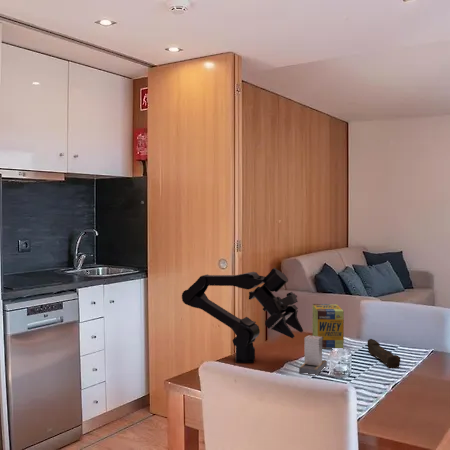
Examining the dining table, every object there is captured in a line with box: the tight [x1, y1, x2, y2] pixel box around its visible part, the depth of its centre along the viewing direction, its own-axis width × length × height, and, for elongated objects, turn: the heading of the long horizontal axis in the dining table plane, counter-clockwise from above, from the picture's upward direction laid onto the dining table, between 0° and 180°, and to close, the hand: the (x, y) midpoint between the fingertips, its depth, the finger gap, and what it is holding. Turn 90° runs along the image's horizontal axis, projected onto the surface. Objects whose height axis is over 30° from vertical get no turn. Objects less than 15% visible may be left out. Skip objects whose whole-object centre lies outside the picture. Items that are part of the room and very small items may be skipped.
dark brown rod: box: [366, 338, 401, 369], centre depth 193 cm, size 23×5×6 cm, turn 5°
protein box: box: [311, 303, 345, 349], centre depth 213 cm, size 10×15×16 cm
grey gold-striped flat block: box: [298, 359, 328, 376], centre depth 180 cm, size 12×6×2 cm, turn 153°
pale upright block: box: [304, 335, 323, 366], centre depth 180 cm, size 4×5×9 cm
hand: (298, 334), depth 182 cm, fingers open, 9 cm apart
